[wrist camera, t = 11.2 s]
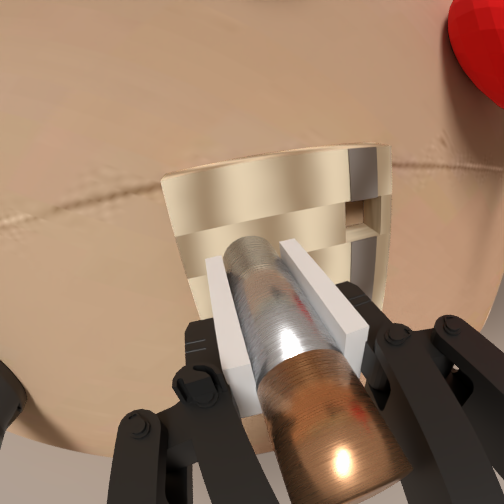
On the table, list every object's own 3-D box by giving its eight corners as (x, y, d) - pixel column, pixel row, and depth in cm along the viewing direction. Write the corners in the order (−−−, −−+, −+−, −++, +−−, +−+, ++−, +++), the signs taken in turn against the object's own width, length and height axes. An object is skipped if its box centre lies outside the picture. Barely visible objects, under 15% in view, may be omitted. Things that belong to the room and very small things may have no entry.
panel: (214, 344, 29) (217, 365, 26) (165, 173, 20) (160, 181, 18) (367, 302, 30) (381, 319, 27) (371, 142, 22) (392, 146, 19)
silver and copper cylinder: (228, 289, 15) (298, 524, 4) (217, 242, 14) (296, 515, 3) (278, 277, 15) (394, 485, 5) (272, 230, 14) (430, 453, 3)
